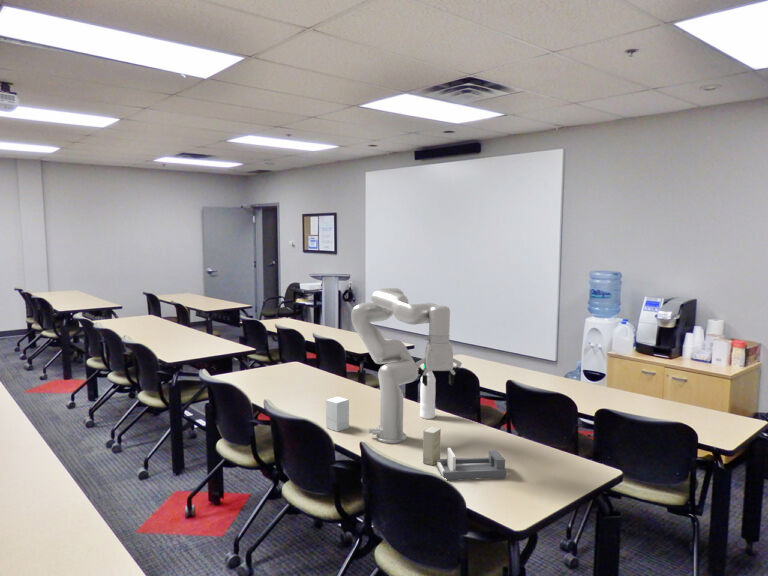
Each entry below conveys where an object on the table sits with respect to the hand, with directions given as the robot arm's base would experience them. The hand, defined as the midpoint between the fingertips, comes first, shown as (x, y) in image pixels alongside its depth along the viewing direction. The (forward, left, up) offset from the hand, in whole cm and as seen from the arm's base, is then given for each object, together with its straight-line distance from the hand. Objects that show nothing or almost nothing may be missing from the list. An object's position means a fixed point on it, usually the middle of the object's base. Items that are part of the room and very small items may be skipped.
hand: (438, 384), depth 191 cm
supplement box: (-36, +36, -29) cm, 59 cm away
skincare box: (-2, -2, -28) cm, 29 cm away
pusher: (+10, -12, -27) cm, 31 cm away
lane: (+10, -12, -28) cm, 32 cm away
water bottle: (+6, +47, -28) cm, 55 cm away
